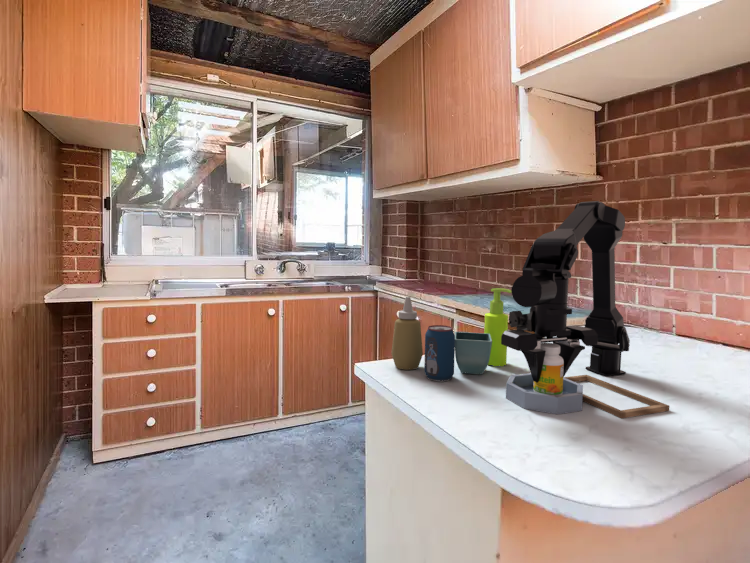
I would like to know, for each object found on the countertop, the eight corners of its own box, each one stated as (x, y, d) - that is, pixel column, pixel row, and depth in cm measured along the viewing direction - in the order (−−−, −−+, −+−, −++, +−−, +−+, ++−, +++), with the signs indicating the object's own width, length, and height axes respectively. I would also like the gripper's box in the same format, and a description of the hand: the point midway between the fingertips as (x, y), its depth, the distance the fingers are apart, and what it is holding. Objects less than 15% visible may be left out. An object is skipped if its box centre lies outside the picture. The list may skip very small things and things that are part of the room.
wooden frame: (586, 378, 99) (586, 374, 99) (669, 410, 80) (669, 405, 80) (544, 383, 95) (544, 379, 95) (621, 418, 76) (621, 413, 76)
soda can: (453, 374, 102) (454, 325, 101) (454, 383, 95) (455, 330, 94) (424, 372, 103) (425, 324, 102) (423, 381, 96) (424, 329, 95)
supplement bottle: (530, 394, 82) (531, 346, 81) (536, 386, 87) (538, 340, 86) (559, 400, 79) (561, 350, 78) (565, 391, 84) (566, 344, 83)
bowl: (547, 385, 94) (548, 371, 94) (598, 408, 81) (599, 392, 81) (494, 391, 90) (494, 376, 90) (538, 416, 77) (539, 399, 76)
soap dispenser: (506, 368, 107) (509, 290, 105) (480, 364, 110) (482, 288, 109) (512, 363, 112) (515, 288, 110) (487, 359, 115) (489, 286, 114)
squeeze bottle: (389, 362, 111) (390, 295, 109) (419, 362, 112) (420, 295, 110) (393, 372, 103) (394, 299, 101) (425, 371, 104) (427, 299, 102)
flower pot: (491, 378, 99) (492, 340, 98) (453, 375, 101) (454, 338, 100) (488, 367, 108) (489, 333, 107) (453, 365, 109) (454, 331, 108)
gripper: (559, 295, 92) (556, 365, 93) (486, 298, 86) (484, 372, 88) (601, 302, 82) (597, 380, 83) (521, 306, 76) (518, 390, 77)
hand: (547, 380), depth 83 cm, fingers closed on supplement bottle, 5 cm apart
